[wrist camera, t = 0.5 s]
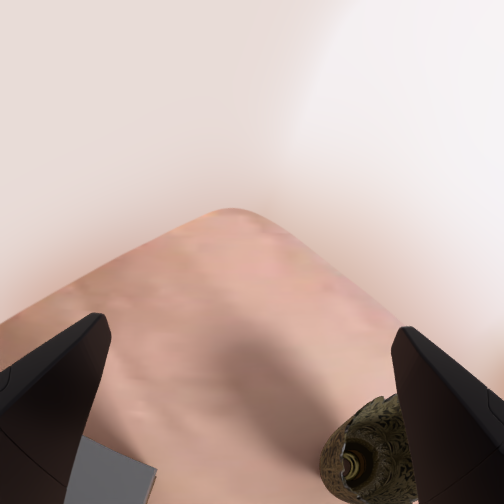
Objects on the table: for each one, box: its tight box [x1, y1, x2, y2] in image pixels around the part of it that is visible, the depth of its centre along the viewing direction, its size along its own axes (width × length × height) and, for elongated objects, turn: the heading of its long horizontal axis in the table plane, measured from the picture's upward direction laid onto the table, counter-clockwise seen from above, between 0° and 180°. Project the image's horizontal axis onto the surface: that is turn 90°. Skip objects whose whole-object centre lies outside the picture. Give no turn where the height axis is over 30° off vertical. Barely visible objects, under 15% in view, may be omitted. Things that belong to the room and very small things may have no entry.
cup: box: [319, 394, 418, 504], centre depth 16 cm, size 8×7×8 cm
